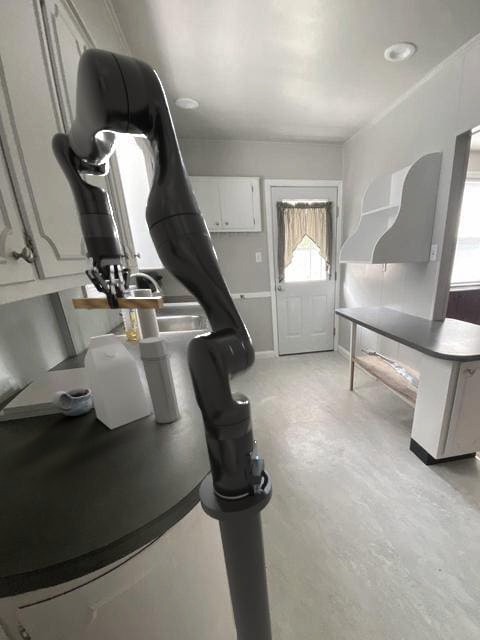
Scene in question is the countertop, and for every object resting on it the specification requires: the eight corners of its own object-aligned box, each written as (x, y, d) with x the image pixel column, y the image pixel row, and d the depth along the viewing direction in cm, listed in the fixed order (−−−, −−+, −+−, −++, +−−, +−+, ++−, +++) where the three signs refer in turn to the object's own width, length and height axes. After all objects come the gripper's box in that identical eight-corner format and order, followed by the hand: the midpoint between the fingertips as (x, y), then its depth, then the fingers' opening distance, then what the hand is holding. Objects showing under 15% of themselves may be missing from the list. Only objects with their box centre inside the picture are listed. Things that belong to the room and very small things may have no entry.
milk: (135, 404, 104) (116, 329, 94) (150, 414, 97) (132, 334, 87) (97, 417, 96) (72, 337, 86) (111, 429, 89) (85, 343, 79)
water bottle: (150, 419, 94) (132, 340, 84) (175, 410, 99) (160, 335, 89) (162, 430, 88) (144, 346, 78) (188, 420, 92) (173, 340, 83)
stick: (164, 307, 80) (162, 297, 79) (159, 308, 78) (157, 298, 77) (81, 307, 85) (78, 298, 84) (74, 308, 83) (71, 299, 82)
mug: (101, 405, 104) (93, 378, 100) (84, 423, 93) (74, 393, 89) (70, 408, 103) (61, 381, 99) (50, 426, 92) (38, 396, 88)
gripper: (91, 233, 68) (111, 312, 74) (133, 237, 80) (147, 304, 87) (64, 235, 69) (86, 312, 76) (109, 238, 82) (124, 304, 88)
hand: (118, 307), depth 81 cm, fingers closed on stick, 2 cm apart
